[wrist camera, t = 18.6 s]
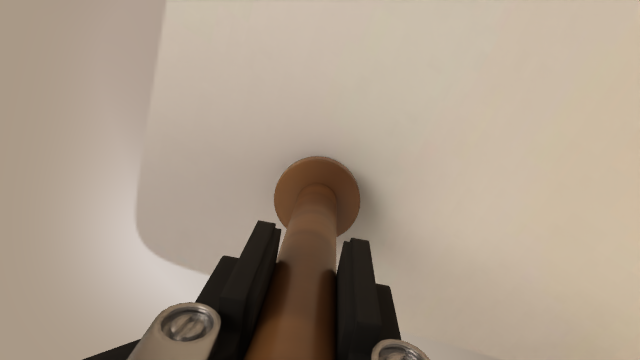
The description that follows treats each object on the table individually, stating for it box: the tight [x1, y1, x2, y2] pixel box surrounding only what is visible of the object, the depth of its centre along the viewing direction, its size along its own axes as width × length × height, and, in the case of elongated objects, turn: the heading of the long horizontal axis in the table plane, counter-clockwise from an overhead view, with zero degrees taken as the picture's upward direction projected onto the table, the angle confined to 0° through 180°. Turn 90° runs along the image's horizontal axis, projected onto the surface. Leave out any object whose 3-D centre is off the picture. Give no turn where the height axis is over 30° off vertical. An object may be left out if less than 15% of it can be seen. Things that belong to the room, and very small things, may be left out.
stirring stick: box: [243, 156, 360, 360], centre depth 13 cm, size 4×4×14 cm
